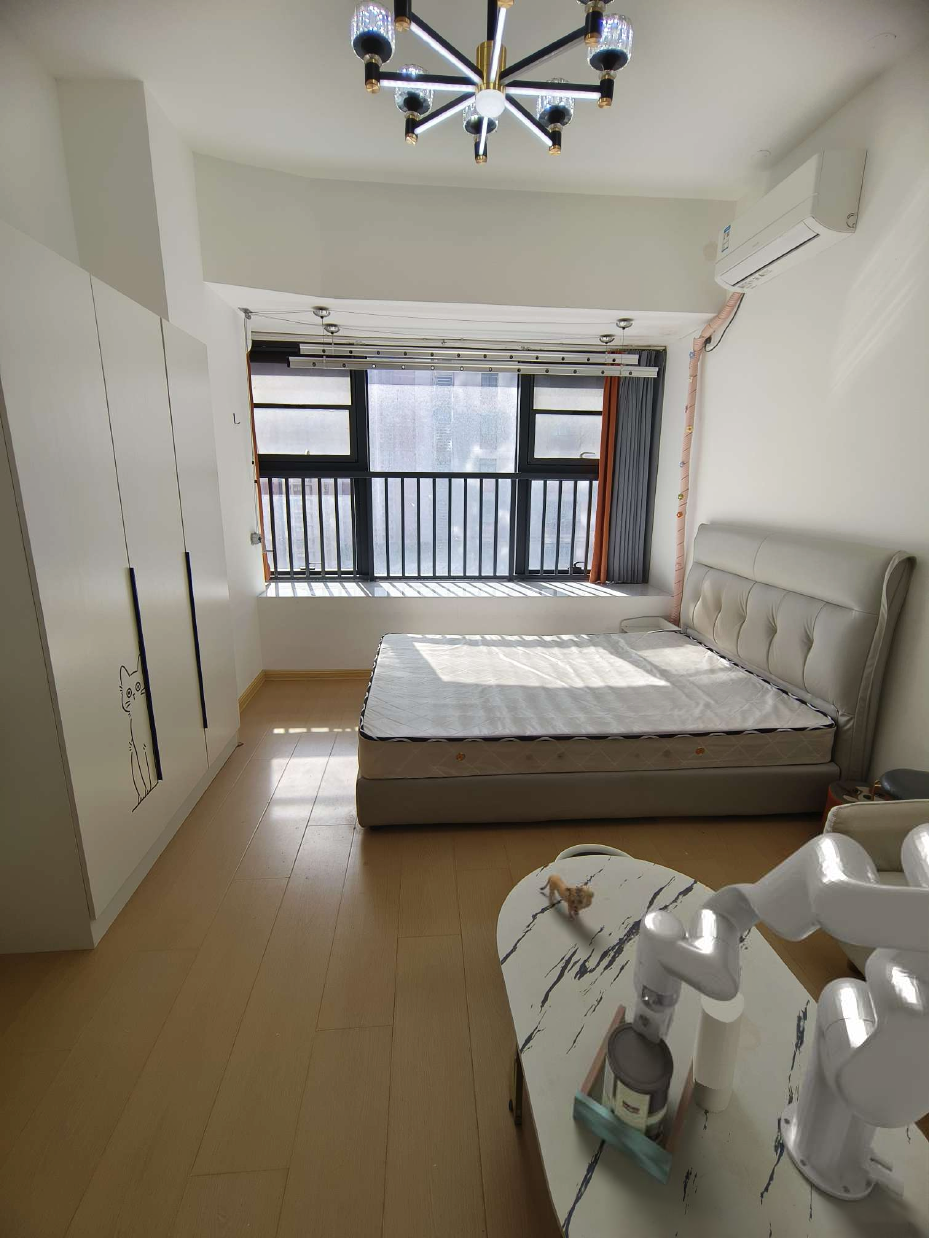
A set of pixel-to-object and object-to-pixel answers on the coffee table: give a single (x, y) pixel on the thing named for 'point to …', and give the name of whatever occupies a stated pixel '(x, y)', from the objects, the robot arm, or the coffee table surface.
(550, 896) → the lion figurine
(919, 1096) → the robot arm
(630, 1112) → the coffee can
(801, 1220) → the coffee table surface
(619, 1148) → the bay
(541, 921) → the coffee table surface
